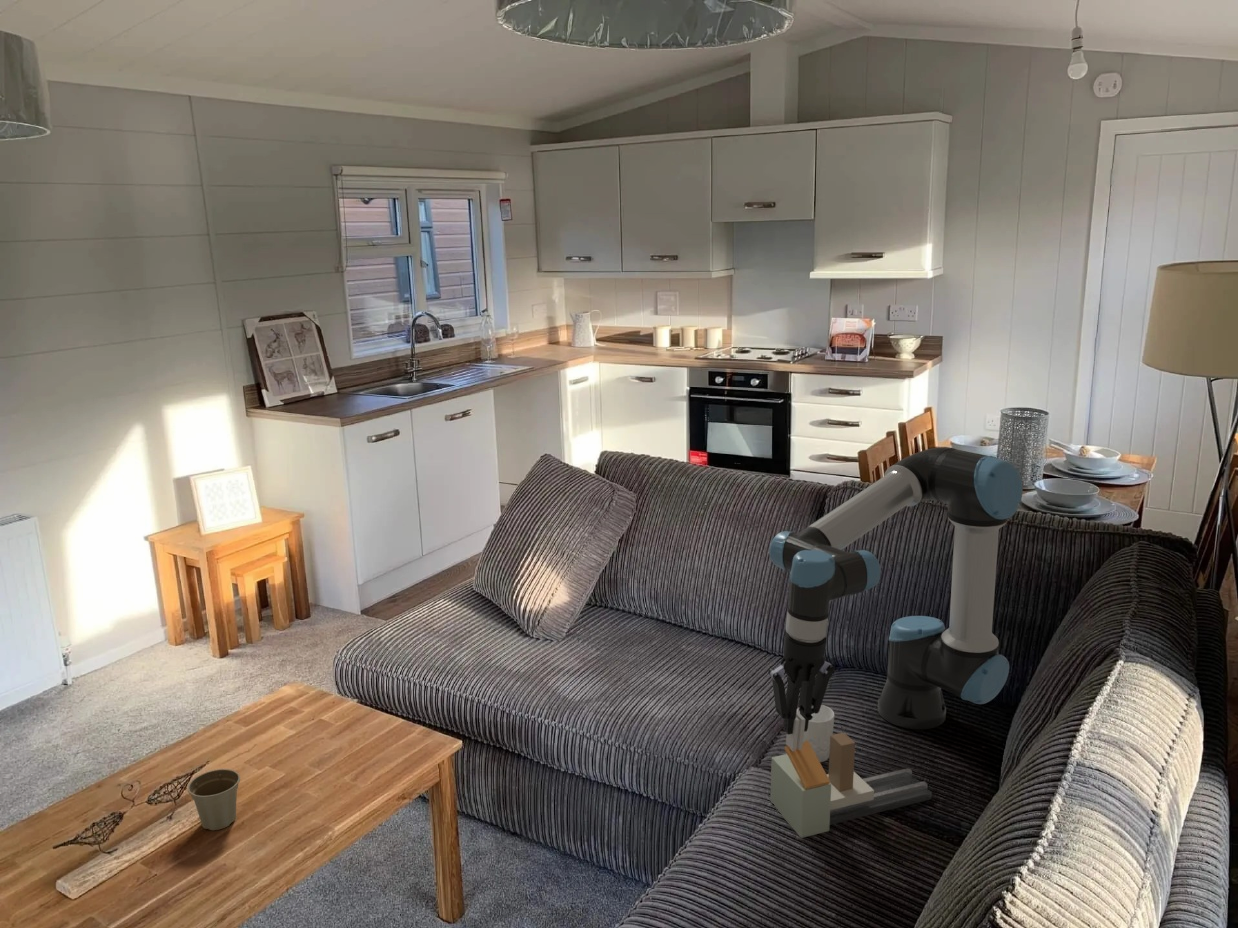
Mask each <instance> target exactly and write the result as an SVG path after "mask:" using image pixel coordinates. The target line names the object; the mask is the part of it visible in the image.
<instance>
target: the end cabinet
mask: <svg viewBox="0 0 1238 928" xmlns="http://www.w3.org/2000/svg"><path fill="white" fill-rule="evenodd" d="M770 761H771V765H770V766H771V767H770V771H771V772H770V801H771V802H772V803H773V804H774V805H775V807H776V808H777V809H778V810H777V809H776V808H775V807H774V808H775V809H776V810H777V812H778V811H779V812H780V813H781V814H782V815H781V814H780V813H779V812H778V813H779V814H780V815H781V816H782V817H783V818H784V820H785V821H786V822H787V823H788V825H789V826H790V827H791V828H792V829H793V830H794V832H795V833H796V834H797V835H798V836H799V837H800V839H803V838H806V837H810V836H811V837H812V836H814V835H817V834H823V833H826V832H829V831H830V825H829V824H830V802H831V783H829V784H826V785H822V786H818V787H814V788H809V789H805V788H804V786H803V784H802V782H801V780H800V778H799V776H798V774H797V772H796V770H795V768H794V766H793V765H792V763H791V761H790V759H789V757H788V755H787V753H785V754H781V755H776V756H772V757H771V760H770ZM771 802H770V803H771Z"/></svg>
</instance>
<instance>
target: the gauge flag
mask: <svg viewBox="0 0 1238 928" xmlns="http://www.w3.org/2000/svg"><path fill="white" fill-rule="evenodd" d="M784 751H785V754H787V755H788V757H789V759H790V761H791V763H792V765H793V766H794V768H795V770H796V772H797V774H798V776H799V778H800V780H801V782H802V784H803V786H804V788H805V789H809V788H814V787H818V786H822V785H826V784H829V783H830V780H829V778H828V776H827V775H826V774H827V772H826V771H825V769H824V768H823V765H822V764H821V762H819V760H818V758H817V756H816V754H815V752H814V751H813V749H812V747H811V745H810V743H809V741H805V742H803V747H802V750H798V749H797V748H796V751H792V750H791V749H790V748H789V747H788V745H787V744H786V745H785V746H784Z"/></svg>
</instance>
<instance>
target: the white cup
mask: <svg viewBox="0 0 1238 928" xmlns="http://www.w3.org/2000/svg"><path fill="white" fill-rule="evenodd" d="M797 712H799V713H800V711H799V707H797ZM811 715H812V716H813V718H812V719H811V720H809V722H808V729H807V731H806V732H804V738H803V742H805V741H809V743H810V745H811V747H812V749H813V751H814V752H815V754H816V756H817V758H818V760H819V762H820V763H822V762H823V763H824V762H826V761H828V760H829V753H830V735H834V723H835V712H834V710H833V709H832V708H830V707H829V706H827V705H824V704H821V708H820V711H819V712H818V713H817V714H815V713H813V714H811Z"/></svg>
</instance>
